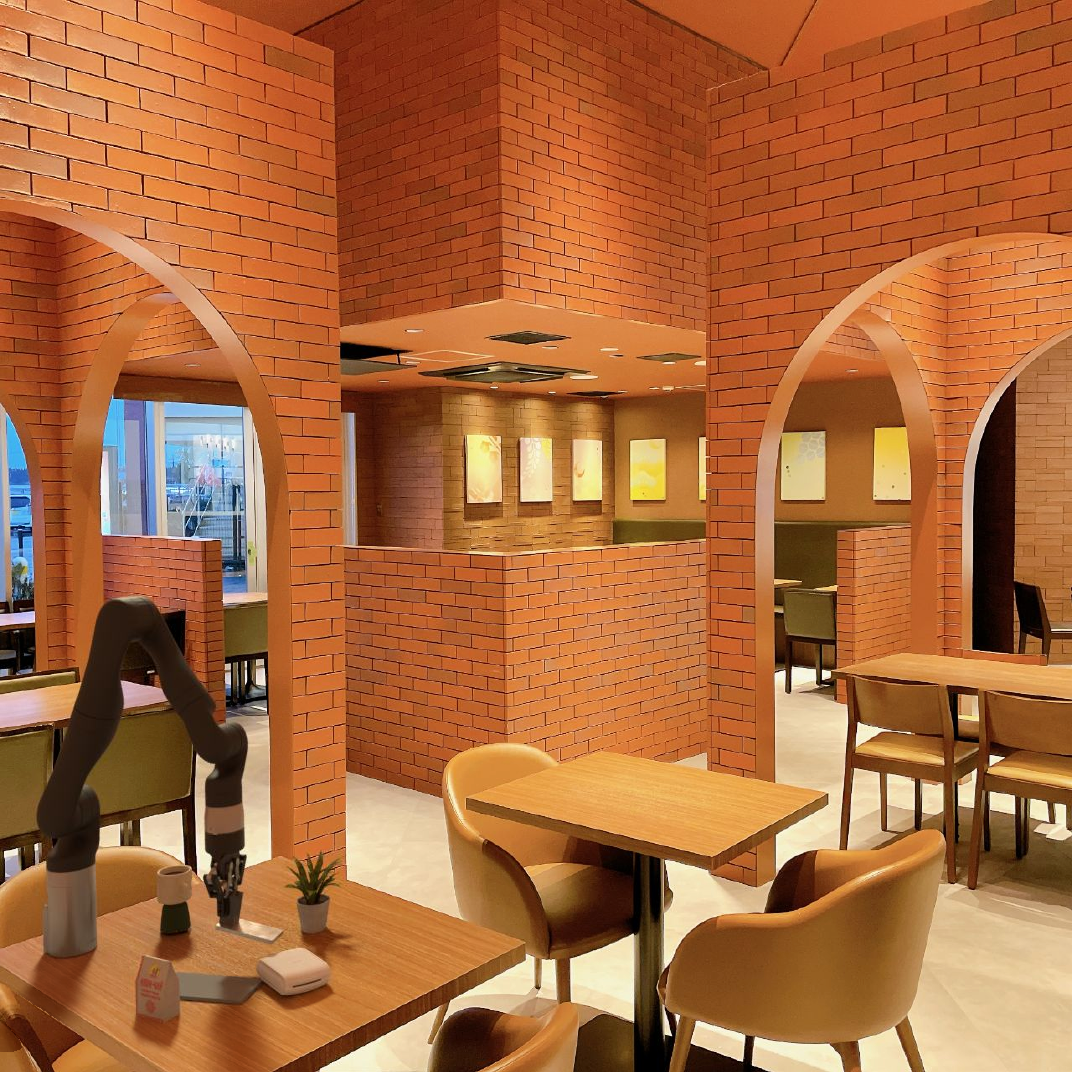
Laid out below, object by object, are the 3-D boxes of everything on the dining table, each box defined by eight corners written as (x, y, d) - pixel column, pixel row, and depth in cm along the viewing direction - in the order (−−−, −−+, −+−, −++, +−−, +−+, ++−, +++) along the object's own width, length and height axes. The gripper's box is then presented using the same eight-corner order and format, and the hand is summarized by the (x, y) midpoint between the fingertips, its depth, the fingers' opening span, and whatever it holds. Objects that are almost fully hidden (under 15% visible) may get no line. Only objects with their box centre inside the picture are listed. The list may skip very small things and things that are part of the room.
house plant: (351, 939, 210) (350, 861, 210) (283, 947, 206) (281, 868, 206) (347, 914, 224) (346, 840, 223) (283, 921, 220) (281, 846, 220)
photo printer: (305, 943, 198) (335, 964, 188) (304, 965, 198) (335, 987, 188) (255, 956, 191) (284, 978, 182) (255, 979, 191) (284, 1002, 182)
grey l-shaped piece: (215, 929, 196) (220, 895, 196) (227, 919, 201) (232, 886, 201) (271, 944, 194) (276, 910, 194) (283, 934, 199) (288, 900, 198)
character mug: (203, 932, 215) (202, 871, 215) (171, 942, 210) (170, 880, 209) (179, 919, 222) (178, 860, 222) (148, 928, 217) (146, 868, 217)
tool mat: (150, 996, 186) (150, 993, 186) (177, 974, 195) (177, 971, 195) (241, 1004, 182) (241, 1000, 182) (263, 981, 191) (263, 978, 191)
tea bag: (152, 1005, 182) (151, 950, 182) (179, 1013, 179) (178, 957, 179) (136, 1014, 179) (134, 958, 179) (163, 1022, 176) (162, 965, 176)
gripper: (224, 815, 206) (226, 899, 206) (188, 836, 192) (190, 926, 192) (258, 816, 204) (260, 901, 204) (224, 837, 191) (226, 929, 191)
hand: (226, 913), depth 198 cm, fingers closed on grey l-shaped piece
